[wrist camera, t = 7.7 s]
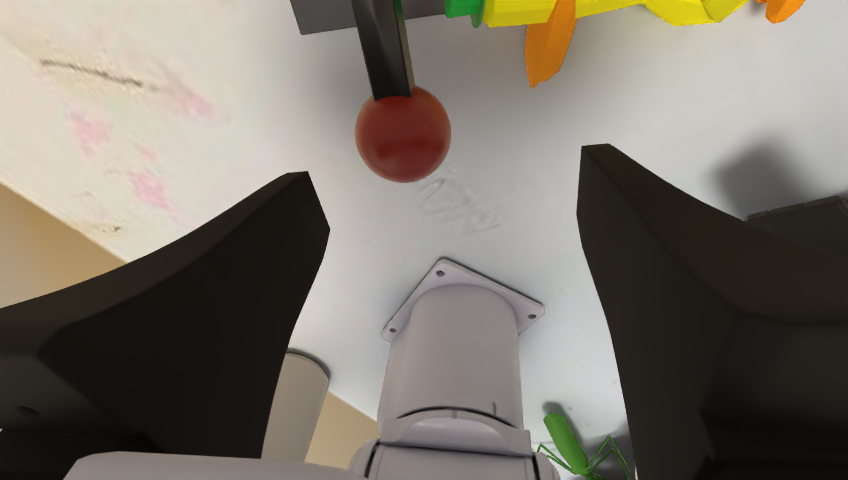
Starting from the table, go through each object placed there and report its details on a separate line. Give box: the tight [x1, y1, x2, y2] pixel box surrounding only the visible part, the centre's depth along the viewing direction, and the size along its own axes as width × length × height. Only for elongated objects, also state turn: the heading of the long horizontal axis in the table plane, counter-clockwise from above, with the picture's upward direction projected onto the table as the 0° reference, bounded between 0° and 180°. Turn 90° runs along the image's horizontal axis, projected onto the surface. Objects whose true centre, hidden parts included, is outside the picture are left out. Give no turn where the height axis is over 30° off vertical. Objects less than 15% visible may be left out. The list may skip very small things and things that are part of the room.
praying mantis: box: [537, 413, 633, 480], centre depth 38 cm, size 9×15×5 cm, turn 29°
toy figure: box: [445, 0, 805, 90], centre depth 14 cm, size 7×4×12 cm
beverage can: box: [261, 353, 329, 462], centre depth 32 cm, size 6×6×12 cm
